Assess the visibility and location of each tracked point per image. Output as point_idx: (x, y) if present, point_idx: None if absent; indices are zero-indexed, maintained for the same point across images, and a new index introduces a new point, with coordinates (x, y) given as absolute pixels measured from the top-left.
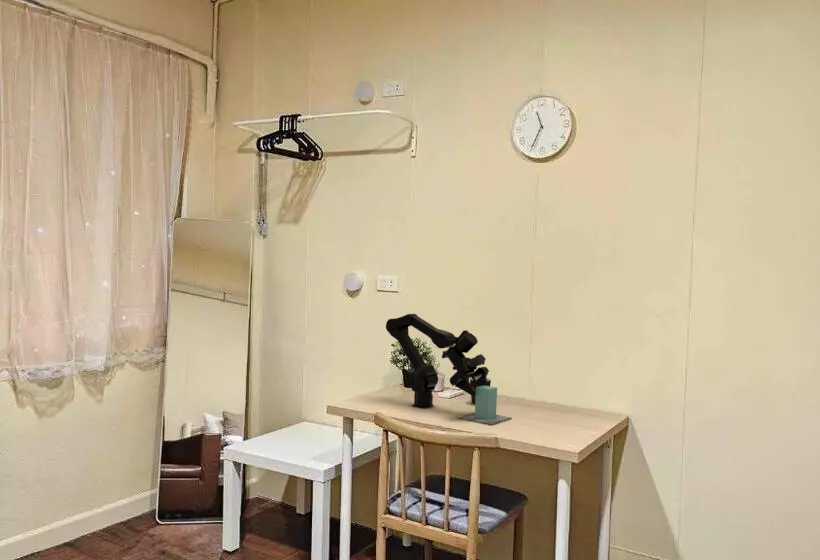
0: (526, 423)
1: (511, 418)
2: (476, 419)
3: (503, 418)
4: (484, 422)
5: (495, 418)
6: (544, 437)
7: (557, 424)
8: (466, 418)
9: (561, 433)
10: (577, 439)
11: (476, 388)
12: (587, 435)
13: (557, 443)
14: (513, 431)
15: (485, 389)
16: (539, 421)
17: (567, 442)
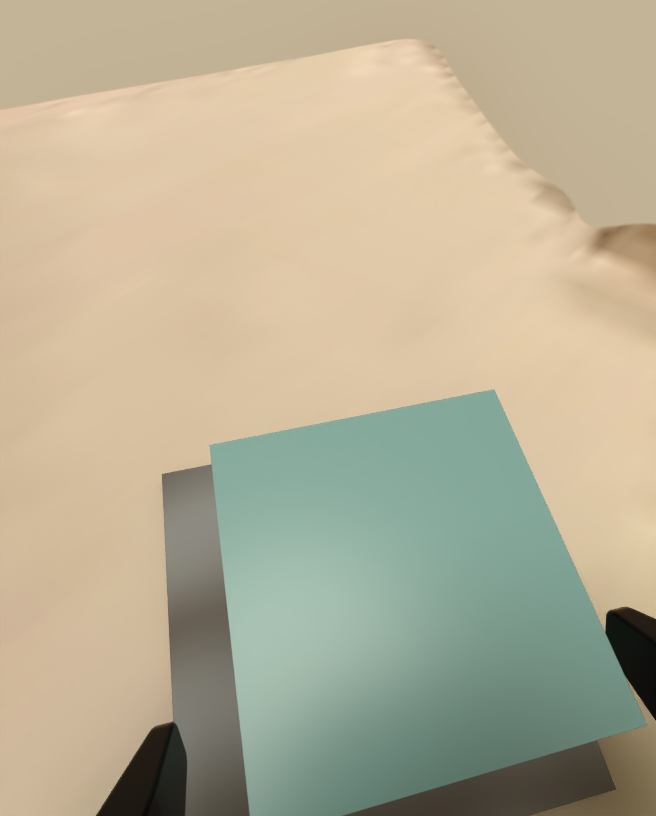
0: (188, 348)
1: (168, 475)
2: None
3: None
4: None
5: None
6: (363, 154)
7: (55, 252)
8: None
9: (227, 156)
10: (260, 92)
11: (619, 702)
12: (160, 102)
13: (388, 96)
14: (423, 271)
15: (522, 460)
16: (62, 342)
17: (338, 89)
